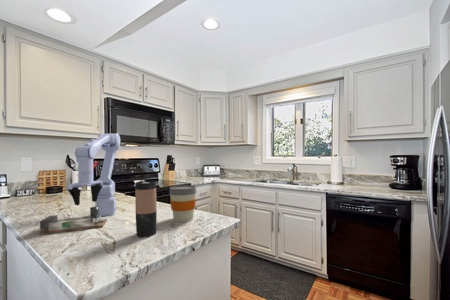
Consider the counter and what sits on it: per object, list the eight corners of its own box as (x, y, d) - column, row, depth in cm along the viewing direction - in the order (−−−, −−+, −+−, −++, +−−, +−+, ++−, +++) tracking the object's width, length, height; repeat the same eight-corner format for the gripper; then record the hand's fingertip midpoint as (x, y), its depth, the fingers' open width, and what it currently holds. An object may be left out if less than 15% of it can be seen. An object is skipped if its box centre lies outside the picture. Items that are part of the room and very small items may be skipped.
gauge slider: (101, 218, 98) (101, 205, 98) (96, 223, 90) (96, 209, 90) (91, 219, 97) (91, 206, 97) (85, 225, 89) (85, 210, 89)
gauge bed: (106, 221, 100) (106, 210, 100) (102, 227, 91) (102, 215, 91) (49, 227, 93) (49, 215, 93) (39, 234, 84) (39, 221, 84)
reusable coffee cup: (192, 213, 109) (191, 184, 109) (200, 220, 98) (199, 187, 98) (167, 217, 104) (166, 186, 104) (172, 224, 92) (172, 190, 93)
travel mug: (161, 231, 85) (160, 180, 85) (148, 238, 78) (147, 183, 78) (145, 229, 87) (144, 180, 88) (131, 236, 80) (130, 183, 80)
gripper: (95, 171, 104) (95, 199, 104) (62, 173, 91) (62, 206, 91) (105, 171, 101) (105, 200, 101) (72, 174, 88) (72, 207, 88)
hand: (86, 203), depth 95 cm, fingers open, 7 cm apart
